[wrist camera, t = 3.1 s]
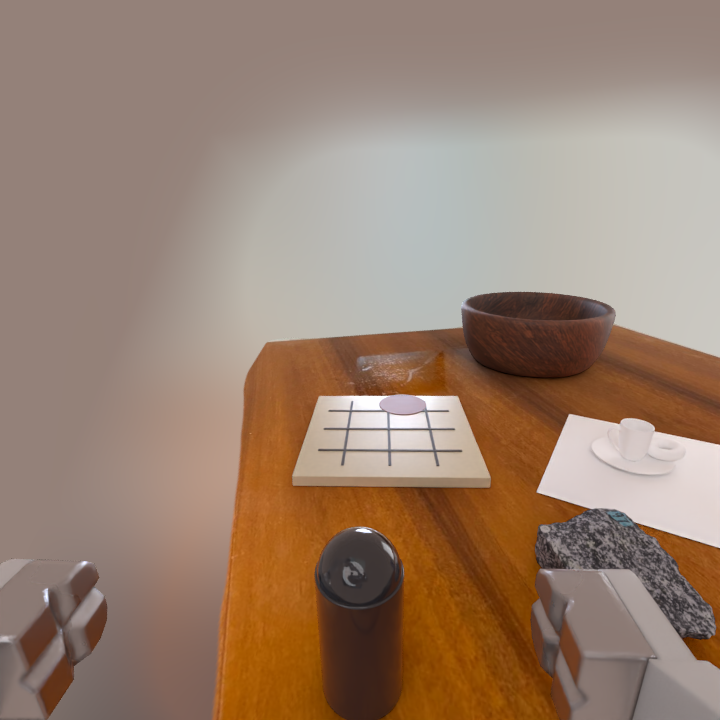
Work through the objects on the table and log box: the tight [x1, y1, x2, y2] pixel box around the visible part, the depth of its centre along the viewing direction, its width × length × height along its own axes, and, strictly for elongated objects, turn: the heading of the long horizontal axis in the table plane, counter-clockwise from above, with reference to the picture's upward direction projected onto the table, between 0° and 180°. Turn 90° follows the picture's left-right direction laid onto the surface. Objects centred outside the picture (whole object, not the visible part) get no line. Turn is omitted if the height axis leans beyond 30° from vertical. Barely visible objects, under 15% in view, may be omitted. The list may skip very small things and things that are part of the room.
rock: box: [535, 508, 716, 640], centre depth 30 cm, size 8×10×4 cm
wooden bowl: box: [462, 292, 616, 378], centre depth 77 cm, size 25×25×10 cm
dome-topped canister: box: [315, 526, 404, 720], centre depth 24 cm, size 5×5×10 cm
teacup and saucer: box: [590, 418, 687, 476], centre depth 47 cm, size 9×8×4 cm
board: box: [292, 395, 491, 488], centre depth 53 cm, size 20×20×1 cm
